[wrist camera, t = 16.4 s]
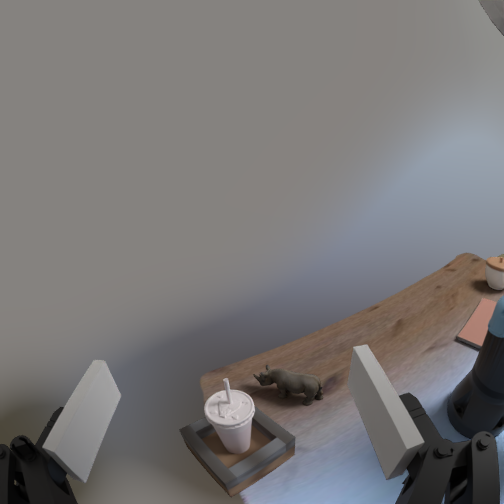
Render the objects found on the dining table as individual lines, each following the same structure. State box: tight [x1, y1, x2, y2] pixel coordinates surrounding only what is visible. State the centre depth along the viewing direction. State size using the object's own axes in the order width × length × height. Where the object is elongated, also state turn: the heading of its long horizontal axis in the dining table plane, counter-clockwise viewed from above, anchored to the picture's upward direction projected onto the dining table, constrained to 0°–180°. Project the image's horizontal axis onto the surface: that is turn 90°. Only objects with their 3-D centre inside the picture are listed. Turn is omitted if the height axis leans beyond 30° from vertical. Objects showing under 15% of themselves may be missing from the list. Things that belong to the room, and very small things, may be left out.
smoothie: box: [204, 378, 255, 454], centre depth 32 cm, size 6×6×14 cm
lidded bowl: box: [485, 257, 504, 290], centre depth 69 cm, size 13×13×11 cm
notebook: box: [457, 298, 497, 349], centre depth 51 cm, size 27×17×2 cm, turn 121°
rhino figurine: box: [253, 365, 323, 406], centre depth 47 cm, size 4×14×6 cm, turn 62°
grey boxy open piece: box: [180, 406, 295, 497], centre depth 34 cm, size 12×12×6 cm
